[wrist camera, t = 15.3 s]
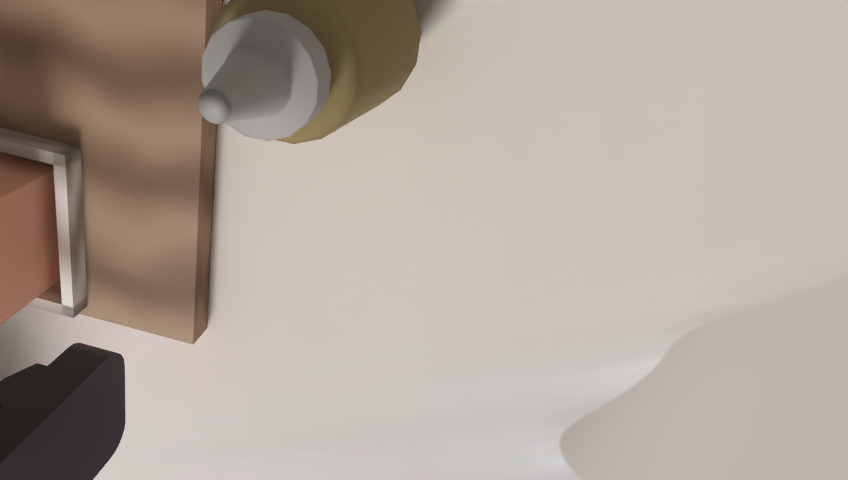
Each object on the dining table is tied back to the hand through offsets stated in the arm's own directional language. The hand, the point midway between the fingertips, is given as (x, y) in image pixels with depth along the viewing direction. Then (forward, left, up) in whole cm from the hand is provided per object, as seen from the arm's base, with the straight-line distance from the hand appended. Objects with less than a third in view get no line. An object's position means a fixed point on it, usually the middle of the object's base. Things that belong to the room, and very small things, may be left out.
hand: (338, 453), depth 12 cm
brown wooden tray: (+10, -24, -30) cm, 40 cm away
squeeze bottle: (-1, -8, -30) cm, 31 cm away
